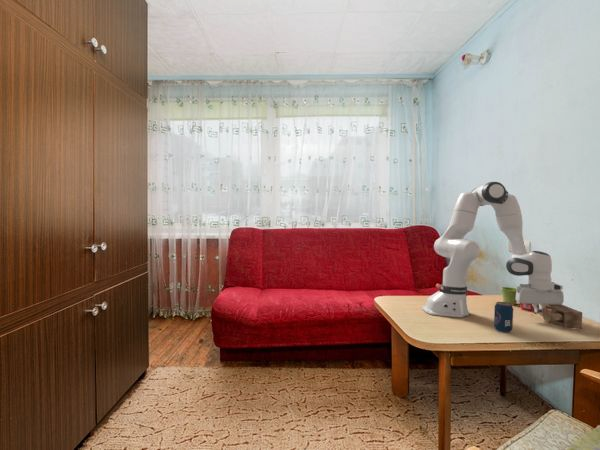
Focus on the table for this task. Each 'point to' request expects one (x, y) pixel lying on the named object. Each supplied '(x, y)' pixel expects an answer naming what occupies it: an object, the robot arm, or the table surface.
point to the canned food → (528, 307)
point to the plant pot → (509, 295)
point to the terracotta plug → (546, 311)
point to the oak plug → (553, 316)
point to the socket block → (567, 316)
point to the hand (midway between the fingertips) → (538, 312)
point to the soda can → (503, 317)
